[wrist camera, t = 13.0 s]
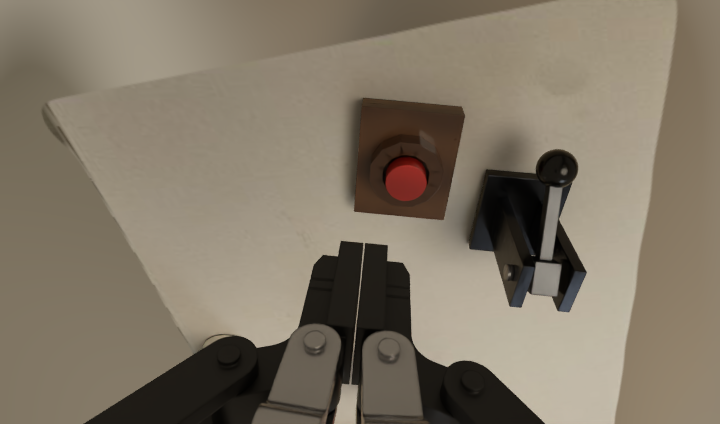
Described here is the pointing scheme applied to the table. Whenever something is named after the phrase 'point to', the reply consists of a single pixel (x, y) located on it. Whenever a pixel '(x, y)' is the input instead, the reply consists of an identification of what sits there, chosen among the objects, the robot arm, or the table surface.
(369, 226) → the table surface
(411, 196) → the button
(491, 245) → the switch bracket
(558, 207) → the switch lever
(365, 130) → the button block
